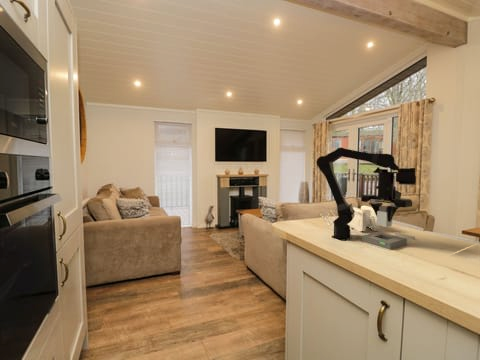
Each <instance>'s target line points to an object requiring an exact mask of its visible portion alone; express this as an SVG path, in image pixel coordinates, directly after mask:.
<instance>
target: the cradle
mask: <svg viewBox="0 0 480 360" xmlns="http://www.w3.org/2000/svg"><path fill="white" fill-rule="evenodd" d="M393 235H394V236H398V237H402V238H406V239H407V242H410V241H413V240H415V239H416V236H415V235H411V234H406V233H401V232H398V231H396V232H394V234H393Z"/></svg>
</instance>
